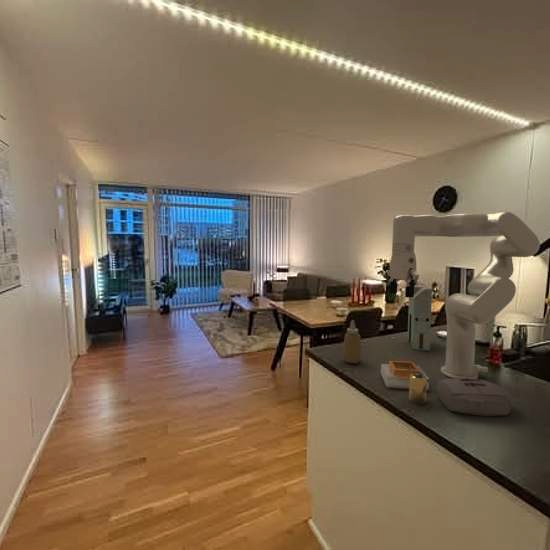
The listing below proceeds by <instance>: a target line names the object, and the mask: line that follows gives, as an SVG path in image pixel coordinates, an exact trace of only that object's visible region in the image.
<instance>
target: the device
mask: <svg viewBox="0 0 550 550" xmlns="http://www.w3.org/2000/svg"><path fill="white" fill-rule="evenodd" d="M432 296H433V288H432V287H430V286H428V285H426V284H418V285H416V286H414V297H408V313H407V314H408V316H407V318H408V319H407V320H408V321H407V340H408V342H409V343H410V346H411V348H412V349H413V350H414V349H415V351H428V352H430V349H431V329H432V327H431V325H432V305H433V304H432V302H433V301H432V299H433V297H432Z"/></svg>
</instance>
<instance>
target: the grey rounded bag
mask: <svg viewBox="0 0 550 550" xmlns="http://www.w3.org/2000/svg"><path fill="white" fill-rule="evenodd" d="M436 385H437V386H436V387H437V388H436V389H437V395H438V398H439V399H440V402H441V403H442V405H443V406H444V407H445V408H446V409H447V410H449V411H450V412H455V413H460V414H463V415H469V414H472V415H471V416H478V415H481V417H500V416H503V417H504V416H509V414H510V413H511V411H512V408H513V406H514V405H515V401H514V399H513V396H512V395H511V394H510V393H509V391H507V390H506V389H504V388H503V387H501V386H500V385H498V384H496V383H493V382H490V381H487V380H483V379H480V378H479V379H478V378H477V379H470V378H456V379H455V378H445V379H443V378H442V379H439V380H438V381H437V384H436Z"/></svg>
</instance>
